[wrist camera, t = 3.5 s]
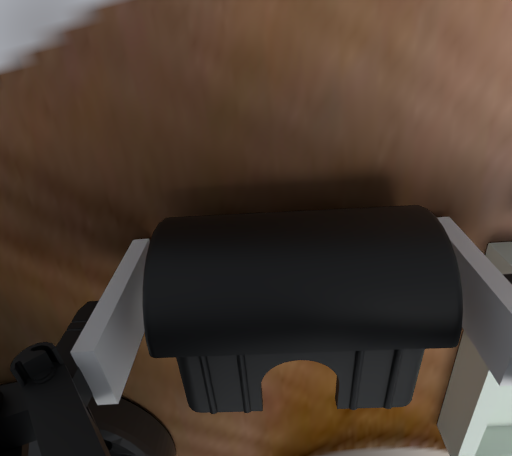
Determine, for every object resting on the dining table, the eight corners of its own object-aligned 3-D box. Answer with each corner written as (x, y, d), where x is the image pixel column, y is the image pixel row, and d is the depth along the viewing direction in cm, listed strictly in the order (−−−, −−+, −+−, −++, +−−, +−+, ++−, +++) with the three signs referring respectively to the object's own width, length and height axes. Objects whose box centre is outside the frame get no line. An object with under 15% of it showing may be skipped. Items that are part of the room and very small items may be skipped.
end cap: (402, 173, 16) (488, 268, 10) (383, 298, 19) (436, 422, 13) (173, 185, 16) (123, 284, 10) (196, 305, 20) (169, 429, 14)
